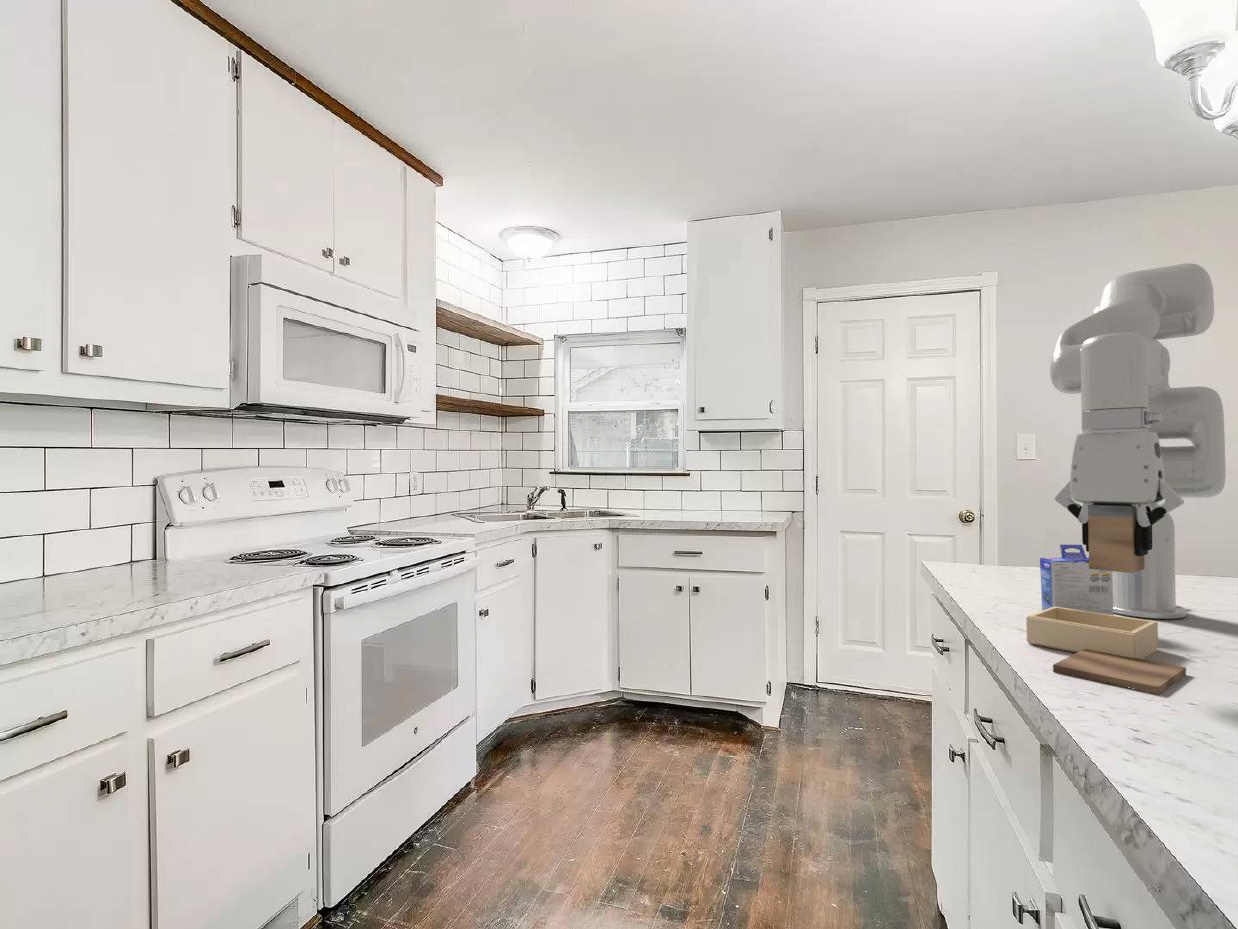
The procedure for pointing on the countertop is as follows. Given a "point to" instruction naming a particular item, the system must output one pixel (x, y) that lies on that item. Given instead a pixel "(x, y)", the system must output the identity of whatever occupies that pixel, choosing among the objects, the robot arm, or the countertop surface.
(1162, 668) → the board
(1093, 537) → the block
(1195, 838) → the countertop surface
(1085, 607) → the ink cartridge box
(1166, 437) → the robot arm
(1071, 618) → the wooden box
